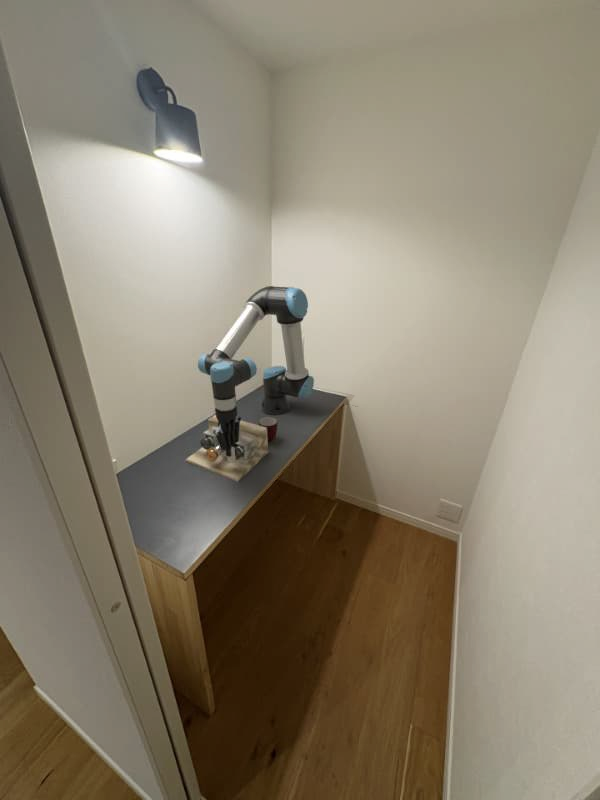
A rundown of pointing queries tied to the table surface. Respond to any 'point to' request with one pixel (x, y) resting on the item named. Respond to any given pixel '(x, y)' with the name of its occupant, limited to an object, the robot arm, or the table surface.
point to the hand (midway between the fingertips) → (231, 461)
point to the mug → (269, 427)
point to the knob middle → (214, 453)
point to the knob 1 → (207, 442)
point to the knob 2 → (239, 452)
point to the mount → (249, 438)
